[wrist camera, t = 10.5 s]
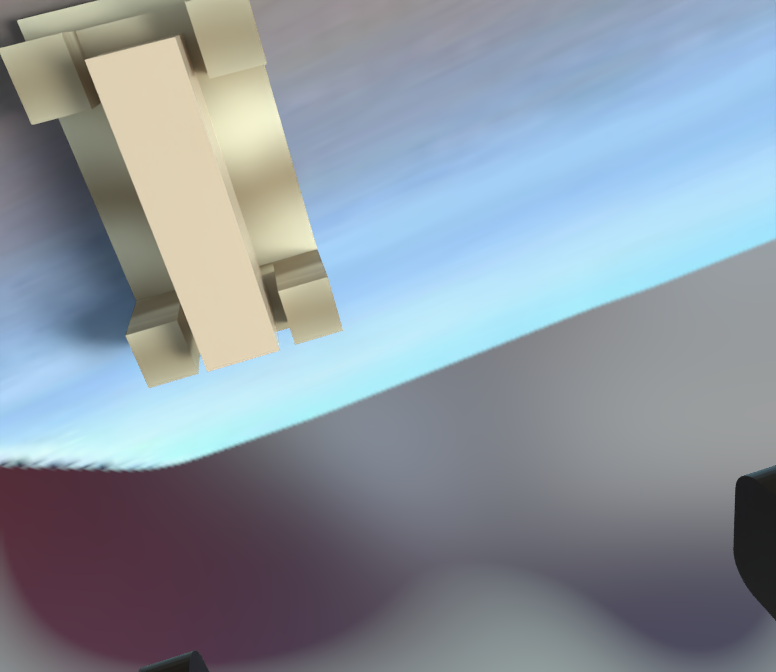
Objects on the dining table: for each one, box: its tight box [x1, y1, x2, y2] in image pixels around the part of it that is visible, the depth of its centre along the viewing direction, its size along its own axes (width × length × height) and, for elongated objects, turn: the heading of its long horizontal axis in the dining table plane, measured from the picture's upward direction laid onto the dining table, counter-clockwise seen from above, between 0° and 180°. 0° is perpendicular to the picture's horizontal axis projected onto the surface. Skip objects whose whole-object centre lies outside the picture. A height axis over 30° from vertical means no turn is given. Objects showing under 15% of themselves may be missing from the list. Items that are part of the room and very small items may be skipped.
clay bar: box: [85, 34, 280, 372], centre depth 32 cm, size 14×4×5 cm, turn 13°
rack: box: [0, 0, 343, 388], centre depth 34 cm, size 18×10×6 cm, turn 13°
